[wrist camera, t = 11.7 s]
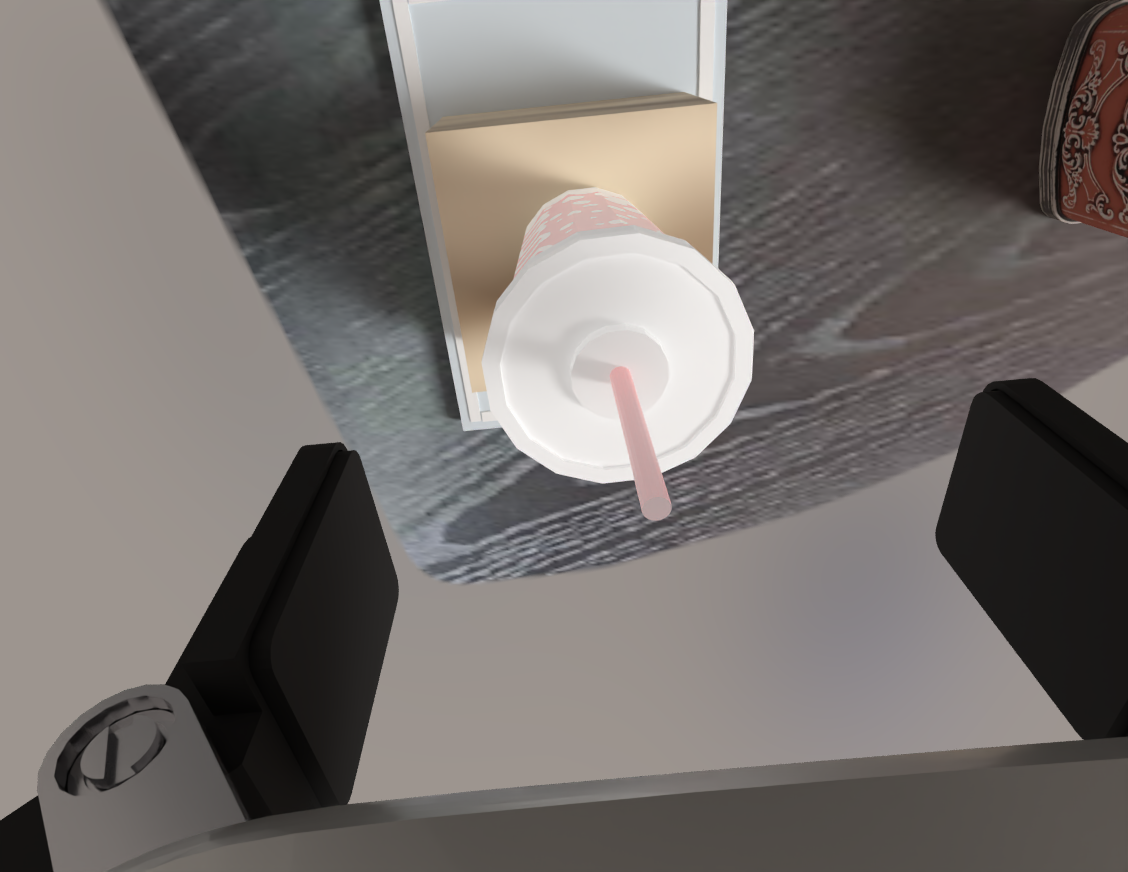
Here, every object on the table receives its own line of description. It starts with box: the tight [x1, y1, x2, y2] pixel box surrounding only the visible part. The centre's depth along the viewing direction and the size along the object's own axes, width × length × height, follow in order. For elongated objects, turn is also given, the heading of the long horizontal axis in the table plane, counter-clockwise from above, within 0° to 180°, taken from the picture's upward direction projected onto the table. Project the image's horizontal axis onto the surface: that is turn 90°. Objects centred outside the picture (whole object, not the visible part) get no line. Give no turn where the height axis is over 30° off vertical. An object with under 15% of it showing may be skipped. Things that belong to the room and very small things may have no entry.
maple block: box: [425, 92, 717, 393], centre depth 25 cm, size 9×9×5 cm
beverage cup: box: [482, 187, 754, 521], centre depth 16 cm, size 6×6×14 cm
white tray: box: [379, 0, 727, 431], centre depth 27 cm, size 18×12×1 cm, turn 5°
